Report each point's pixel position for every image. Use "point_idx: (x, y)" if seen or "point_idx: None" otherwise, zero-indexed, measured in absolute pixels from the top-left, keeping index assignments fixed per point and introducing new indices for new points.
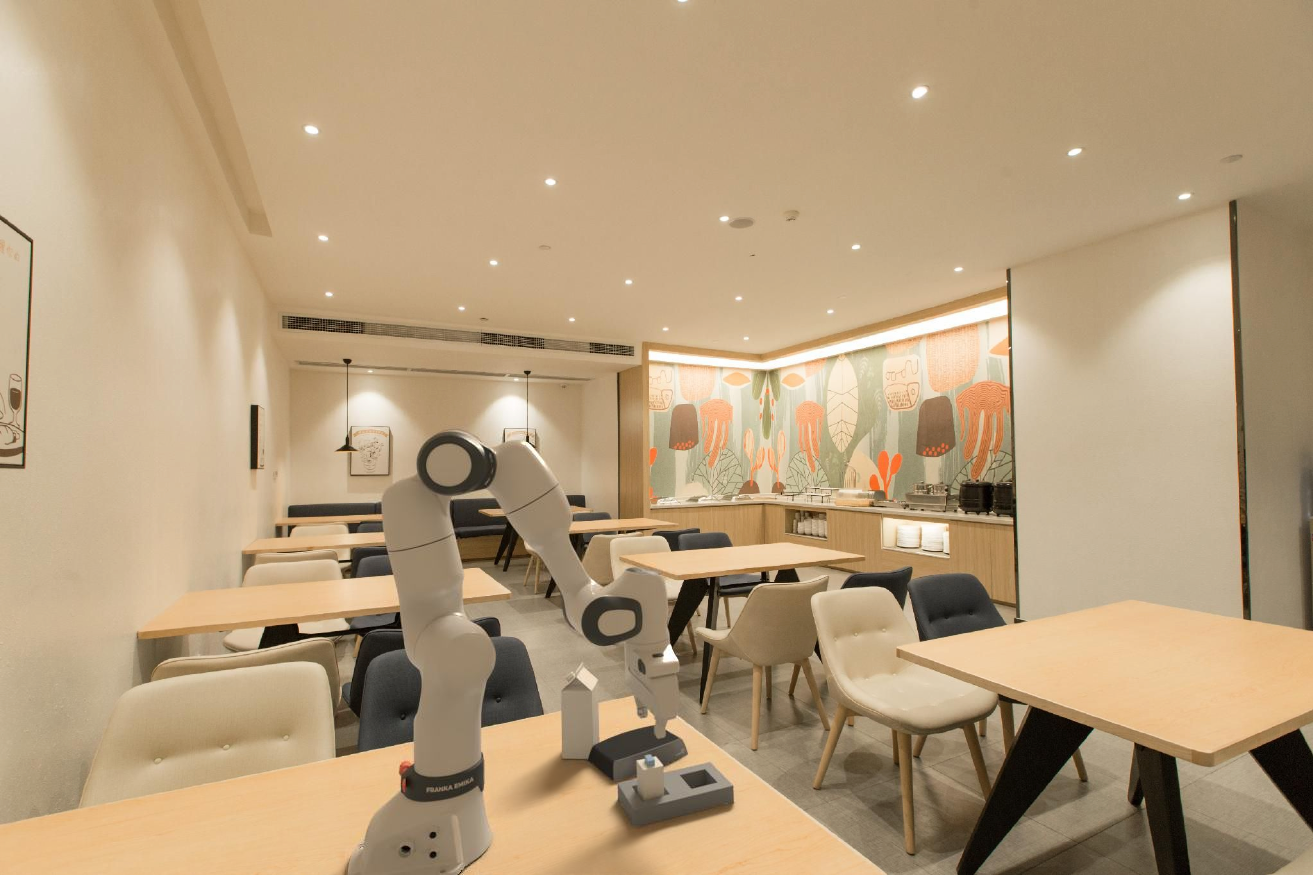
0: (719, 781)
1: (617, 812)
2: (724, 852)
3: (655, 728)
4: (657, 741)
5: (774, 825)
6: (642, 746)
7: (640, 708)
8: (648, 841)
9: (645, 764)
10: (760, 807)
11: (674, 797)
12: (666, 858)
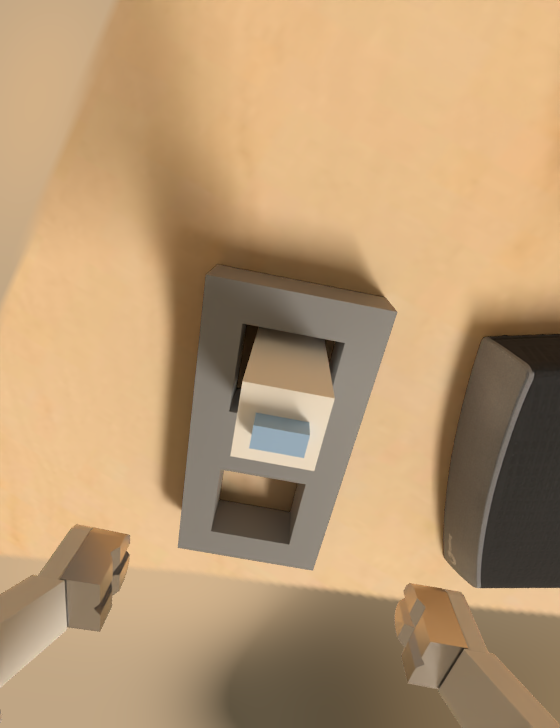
0: (212, 536)
1: (320, 259)
2: (21, 394)
3: (56, 575)
4: (517, 537)
5: (71, 521)
6: (531, 491)
7: (445, 656)
8: (137, 264)
9: (280, 410)
10: (142, 539)
11: (205, 412)
12: (47, 266)
